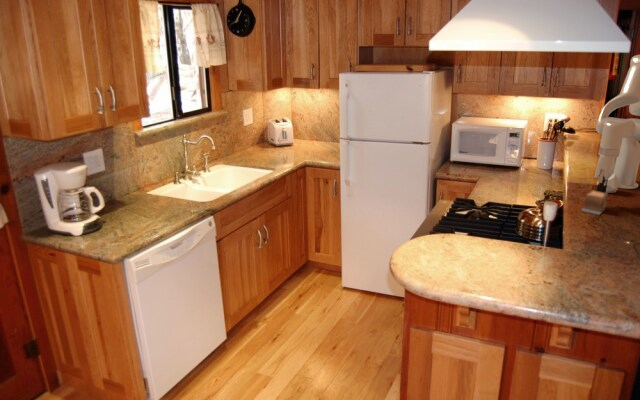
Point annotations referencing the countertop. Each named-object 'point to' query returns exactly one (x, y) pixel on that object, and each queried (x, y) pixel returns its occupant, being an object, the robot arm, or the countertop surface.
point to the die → (612, 184)
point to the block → (595, 200)
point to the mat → (593, 211)
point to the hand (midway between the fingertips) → (600, 193)
